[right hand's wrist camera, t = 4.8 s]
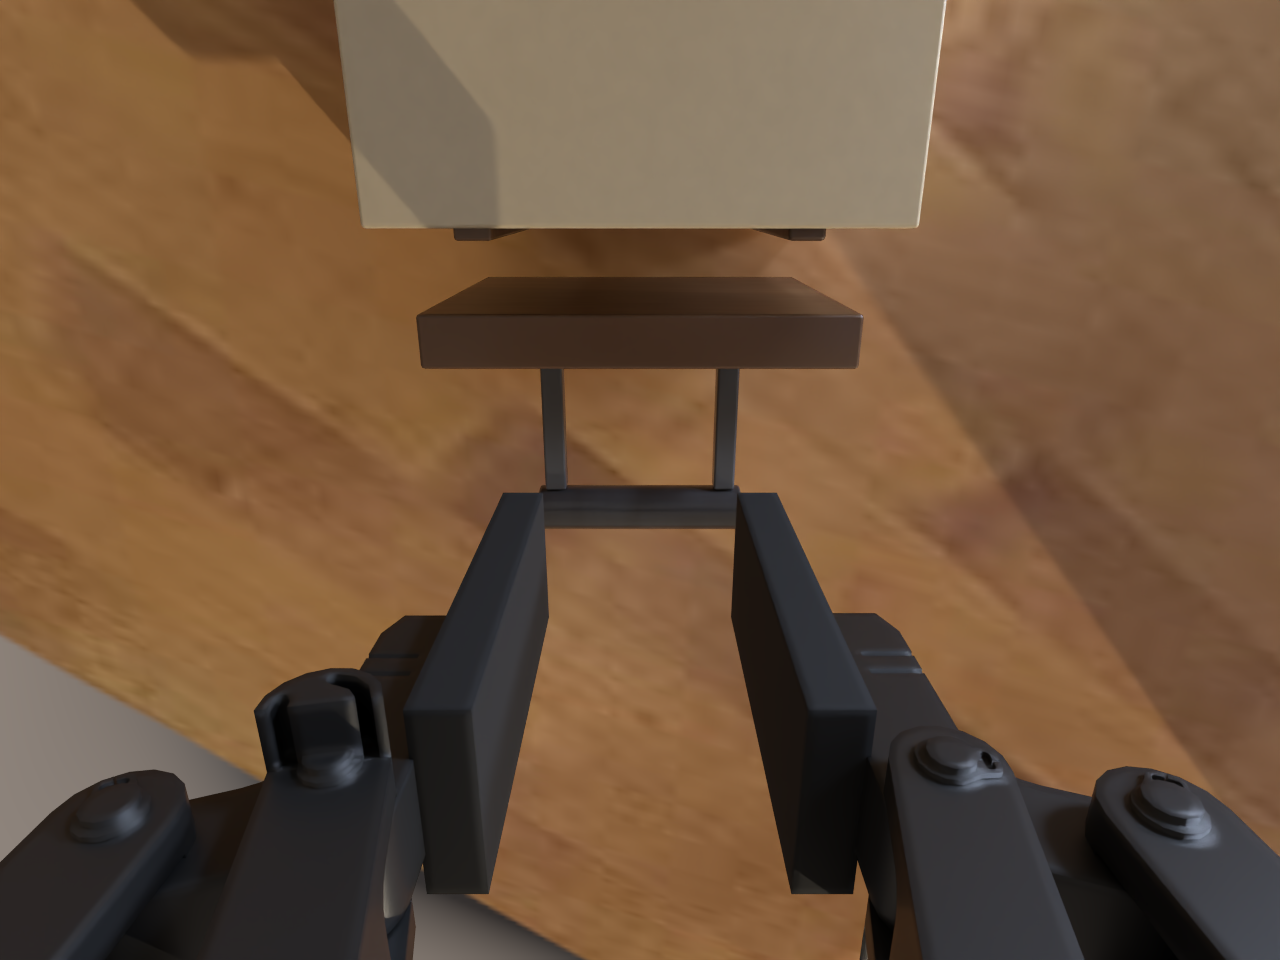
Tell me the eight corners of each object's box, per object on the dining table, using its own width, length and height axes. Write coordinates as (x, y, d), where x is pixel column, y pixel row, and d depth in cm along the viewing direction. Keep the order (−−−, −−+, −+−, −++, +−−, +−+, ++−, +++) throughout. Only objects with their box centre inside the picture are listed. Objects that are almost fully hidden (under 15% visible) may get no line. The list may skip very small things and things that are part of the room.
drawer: (779, 482, 26) (835, 598, 19) (500, 482, 26) (444, 598, 19) (841, -418, 18) (986, -857, 11) (438, -418, 18) (293, -857, 11)
